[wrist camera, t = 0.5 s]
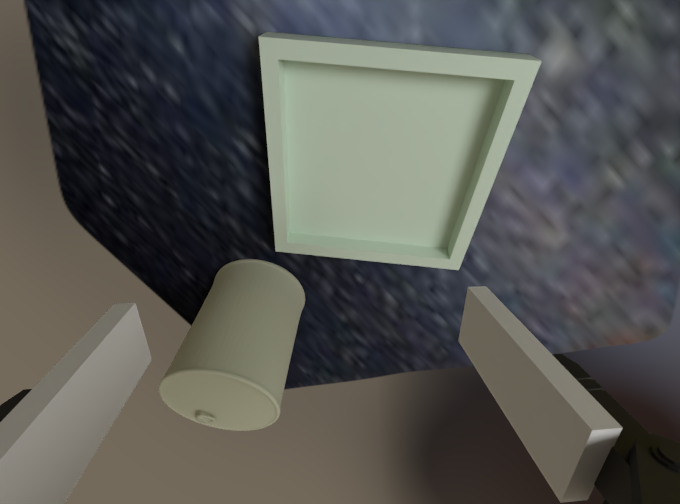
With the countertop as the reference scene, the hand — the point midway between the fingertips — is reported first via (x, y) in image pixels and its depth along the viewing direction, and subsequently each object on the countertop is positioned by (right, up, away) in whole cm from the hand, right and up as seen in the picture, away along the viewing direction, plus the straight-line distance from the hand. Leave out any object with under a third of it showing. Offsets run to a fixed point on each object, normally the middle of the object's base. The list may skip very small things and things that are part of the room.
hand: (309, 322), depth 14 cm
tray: (+4, +9, +10) cm, 15 cm away
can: (-7, -1, +20) cm, 22 cm away
